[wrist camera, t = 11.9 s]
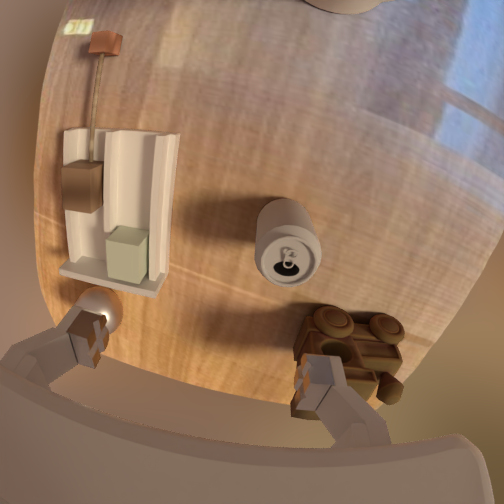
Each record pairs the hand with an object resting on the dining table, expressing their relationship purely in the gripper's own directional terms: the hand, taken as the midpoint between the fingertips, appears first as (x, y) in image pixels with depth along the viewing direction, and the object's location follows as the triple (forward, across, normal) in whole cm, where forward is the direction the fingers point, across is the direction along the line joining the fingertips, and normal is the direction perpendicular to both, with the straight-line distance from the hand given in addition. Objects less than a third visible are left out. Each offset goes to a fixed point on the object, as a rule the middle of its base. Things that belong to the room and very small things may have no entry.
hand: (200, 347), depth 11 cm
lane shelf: (+31, +18, +7) cm, 37 cm away
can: (+31, -6, +6) cm, 33 cm away
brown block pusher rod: (+31, +22, -6) cm, 38 cm away
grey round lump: (+32, +22, +26) cm, 46 cm away
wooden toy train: (+32, -22, +24) cm, 45 cm away
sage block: (+29, +14, +13) cm, 35 cm away
